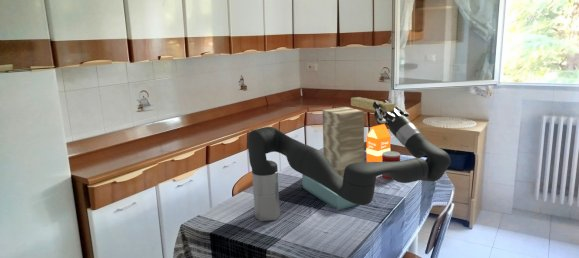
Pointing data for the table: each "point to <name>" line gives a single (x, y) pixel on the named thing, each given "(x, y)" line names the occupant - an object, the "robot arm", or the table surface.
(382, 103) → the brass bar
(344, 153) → the birch stand
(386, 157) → the canned food
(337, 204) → the open teal box
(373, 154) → the orange juice
